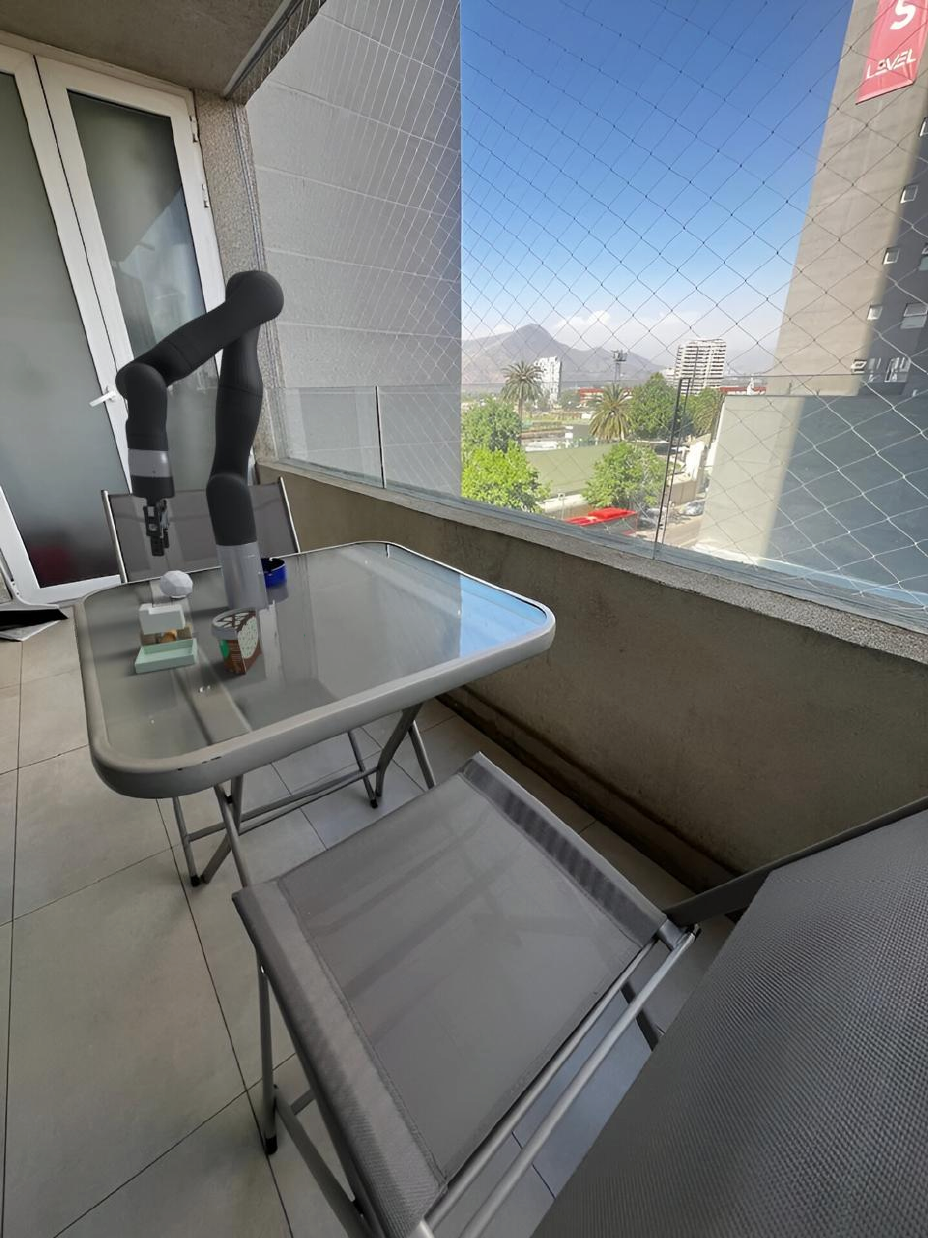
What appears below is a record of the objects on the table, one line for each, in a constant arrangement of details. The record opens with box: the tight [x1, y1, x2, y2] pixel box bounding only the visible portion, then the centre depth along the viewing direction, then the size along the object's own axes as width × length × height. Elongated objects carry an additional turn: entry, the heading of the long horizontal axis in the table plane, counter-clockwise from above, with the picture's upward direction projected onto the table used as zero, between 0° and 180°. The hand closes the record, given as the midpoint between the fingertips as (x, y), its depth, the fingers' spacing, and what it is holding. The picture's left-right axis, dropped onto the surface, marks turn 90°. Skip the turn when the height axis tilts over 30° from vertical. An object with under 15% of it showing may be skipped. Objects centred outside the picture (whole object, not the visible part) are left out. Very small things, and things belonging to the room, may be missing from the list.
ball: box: [158, 570, 194, 597], centre depth 132 cm, size 8×8×8 cm
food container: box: [210, 607, 263, 675], centre depth 91 cm, size 12×6×10 cm, turn 5°
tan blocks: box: [139, 621, 194, 647], centre depth 101 cm, size 9×3×4 cm, turn 115°
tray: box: [134, 638, 199, 675], centre depth 95 cm, size 10×9×2 cm
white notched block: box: [138, 602, 186, 635], centre depth 99 cm, size 7×4×5 cm, turn 115°
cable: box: [161, 630, 177, 644], centre depth 103 cm, size 2×9×2 cm, turn 25°
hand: (161, 551), depth 104 cm, fingers open, 8 cm apart
